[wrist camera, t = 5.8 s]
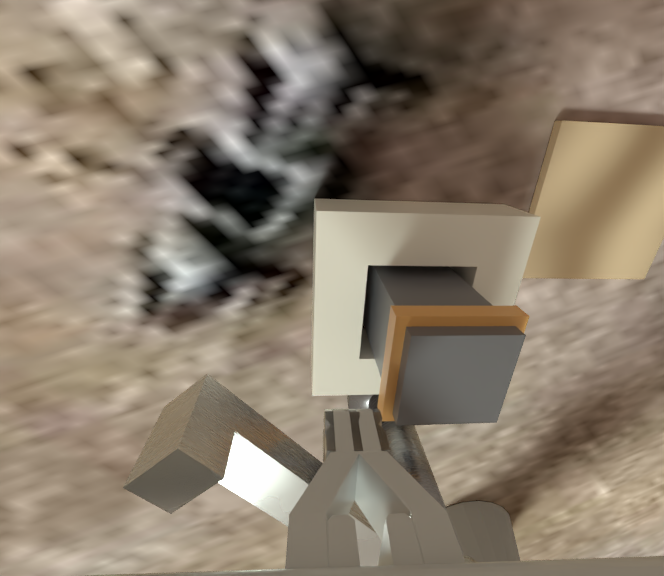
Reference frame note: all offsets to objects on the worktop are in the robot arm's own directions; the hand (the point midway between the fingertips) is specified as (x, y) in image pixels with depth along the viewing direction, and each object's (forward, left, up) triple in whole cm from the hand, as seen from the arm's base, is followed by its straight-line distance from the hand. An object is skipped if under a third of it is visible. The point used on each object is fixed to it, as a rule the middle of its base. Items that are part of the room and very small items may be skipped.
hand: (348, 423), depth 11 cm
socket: (-4, -1, -9) cm, 10 cm away
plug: (-4, -1, -9) cm, 10 cm away
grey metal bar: (0, +3, +1) cm, 3 cm away
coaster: (-15, -6, -9) cm, 18 cm away
